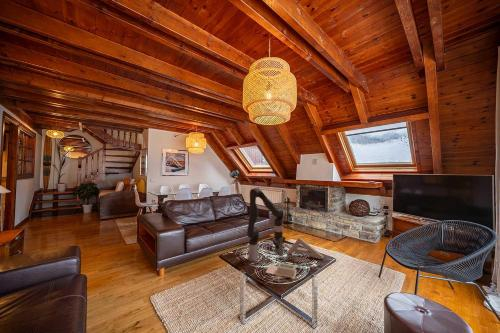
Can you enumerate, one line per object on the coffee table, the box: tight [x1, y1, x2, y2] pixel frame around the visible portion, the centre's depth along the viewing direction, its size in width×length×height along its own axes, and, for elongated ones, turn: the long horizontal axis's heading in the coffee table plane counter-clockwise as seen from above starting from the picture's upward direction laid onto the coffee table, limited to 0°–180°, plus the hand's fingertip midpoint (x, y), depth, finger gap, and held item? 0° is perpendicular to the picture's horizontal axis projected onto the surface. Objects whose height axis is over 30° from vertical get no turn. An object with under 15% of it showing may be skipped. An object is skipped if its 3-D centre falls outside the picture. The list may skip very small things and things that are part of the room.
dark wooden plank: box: [274, 239, 284, 257], centre depth 180 cm, size 9×3×14 cm, turn 23°
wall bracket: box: [287, 236, 324, 260], centre depth 210 cm, size 22×4×30 cm
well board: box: [265, 262, 298, 280], centre depth 180 cm, size 26×14×6 cm, turn 69°
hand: (278, 248), depth 180 cm, fingers closed on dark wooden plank, 3 cm apart
